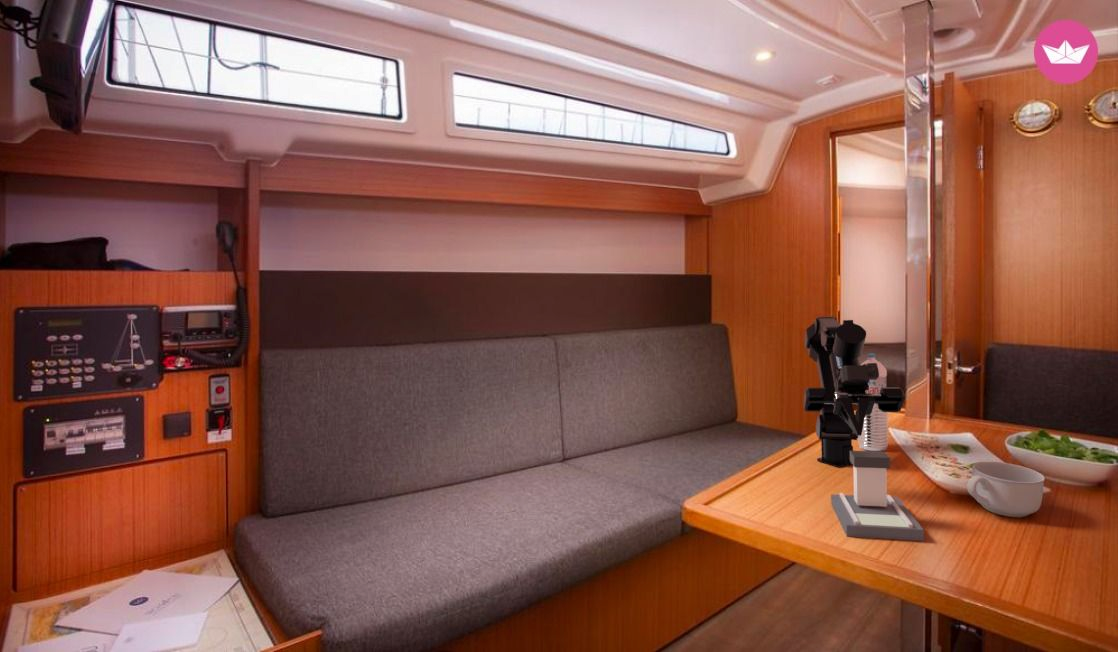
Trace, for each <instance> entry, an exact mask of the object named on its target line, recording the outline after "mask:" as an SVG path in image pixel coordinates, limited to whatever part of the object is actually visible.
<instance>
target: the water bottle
mask: <svg viewBox="0 0 1118 652" xmlns="http://www.w3.org/2000/svg"><path fill="white" fill-rule="evenodd" d="M876 355H877V354H876V353H867V355H866V356H867V359H866V360H864V361H863V362H862V363H860V365H867V363H877V366H878V370H879V377H878V378H877V379H876V380H870V381H869V382H868V385H869V388H868V390H866V394H879V393H880V390H881V387H887V376H888V370H887V369H886V367H885V365H883V364H882V363H881V362H880V361H878V360H877V359H876ZM888 426H889V425H888V412H882V411H881V410H879V409H878V403H874V406H873V409H872V413H871V414H870V415H866V416H865V418H864V424H863V429H862V434H861V436H858V438H857V442H858V447H859V448H860V449H862V450H863V451H883V452H885V451H887V449H888V446H889V445H888V444H889V442H888V440H889V439H888V437H889V435H888V434H889V433H888Z"/></svg>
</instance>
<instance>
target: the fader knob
mask: <svg viewBox="0 0 1118 652" xmlns="http://www.w3.org/2000/svg"><path fill="white" fill-rule="evenodd" d="M850 462H851V463H852V464H851V465H853V466H852V467H853V470H852V471H853V495H854V500H855V502H856V504H857V505H862V506H883V507H887V495H888V489H887V485H888V483H887V482H888V480H887V479H888V478H887V475H888V473H887V472H888V471H887V469H891V457H890V456H889V455H888V454H887V453H886V452H885V451H869V450H853V451H850Z"/></svg>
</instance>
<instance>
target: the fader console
mask: <svg viewBox="0 0 1118 652" xmlns="http://www.w3.org/2000/svg"><path fill="white" fill-rule="evenodd" d="M830 504H831V507H832V509H833V511H834V514H835V515H836V517H837V519H838V521H839V523H840V525H841V527H842V529H843V531H844V533H845V536H846V537H849V538H850V537H852V538H853V537H854V538H868V539H869V538H870V539H883V540H884V539H885V540H897V541H898V540H901V541H915V542H916V541H917V542H924V541H925V537H924V536H925V531H924V529H923V527H922V526H921V525H920V523H919V522H918V521H917V519H916V518H915V517H914V515H912V513H910V511H909V510H908V508H907V507H906V506H905V505H904V504H903V502H902V500H900V498H899V496H898V497H897V496H896V497H895V496H893V497H892V496H891V495H890V494H887V507H883V506H862V505H857V504H856V502H855V500H854V494H853V495H852V494H849V495H848V494H844V493H843V492H839V494H833V493H832V494H830Z"/></svg>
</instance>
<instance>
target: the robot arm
mask: <svg viewBox="0 0 1118 652" xmlns="http://www.w3.org/2000/svg"><path fill="white" fill-rule="evenodd" d="M866 338H867V331H866V330H865V328H864V327H862V326H861V325H860V324H857V323H854V320H853V319H843V320H842V324H841V323H840V322H839V321H838V320H837V317H834V316H818V317H815V318H814V321H813V323H812V324H811V325H810V326H809V327H807V328H805V335H804V348H805V349H806V350H807V353H808V356H809V358H810V359H811V360H813V361H814V362H815V363H816V366H817V370H818V378H819V382H820V387H806V389H805V390H804V395H803V409H804V411H805V412H810V413H811V412H817V413H818V412H819V414H818V415H817V419H816V423H815V433H816V437H817V438H818V439H819V440H820V442H821V445H820V446H821V457H818V458H817V459H816V460H817V461H818V462H820V463H824V464H826V465H830V466H832V467H833V466H834V467H837V468H842V467H844V466H848V465H853V464H852V463H851V462H850V451H854V446H853V445H852V444H853V443H852V441H858V436H861V434H862V429H863V424H864V418H865V416H866V415H870V414H871V413H872V409H873V406H874V403H878V409H879V410H881V411H882V412H887V413H899V412H901V410H902V408H903V405H904V402H905V399H906V394H905V391H904V390H903V389H902V388H901V387H899V386H898V387H897V386H895V387H894V386H893V387H892V386H890V387H889V386H888V387H887V386H886V387H881V390H880V393H879V394H866V390H868V388H869V385H868V382H869V381H870V380H876V379H877V378H878V377H879V370H878V366H877V363H867V365H861V363H860V360H859V357H861V356H862V353H863V350H864V346H865V342H866ZM854 405H856V410H855V411H854V408H853V407H854Z"/></svg>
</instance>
